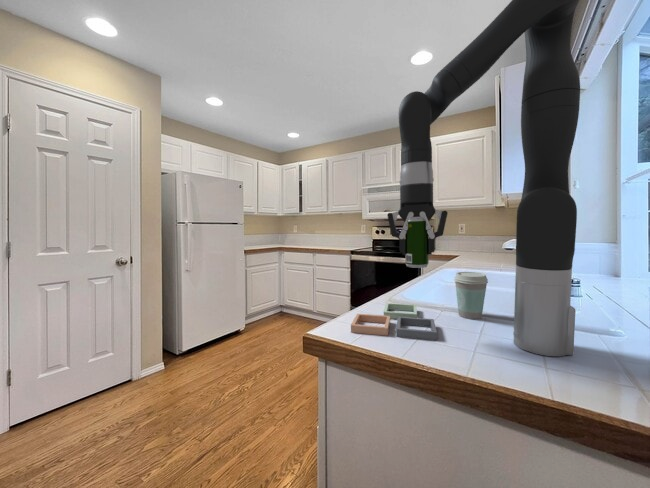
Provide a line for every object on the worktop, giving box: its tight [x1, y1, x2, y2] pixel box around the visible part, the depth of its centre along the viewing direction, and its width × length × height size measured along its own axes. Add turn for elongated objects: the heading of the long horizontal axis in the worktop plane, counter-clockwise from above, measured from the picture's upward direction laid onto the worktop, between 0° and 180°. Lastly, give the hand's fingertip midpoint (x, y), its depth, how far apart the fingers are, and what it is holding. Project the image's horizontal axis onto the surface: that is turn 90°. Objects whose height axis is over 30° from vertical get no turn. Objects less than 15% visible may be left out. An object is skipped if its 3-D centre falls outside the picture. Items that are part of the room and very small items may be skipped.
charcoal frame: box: [395, 317, 438, 341], centre depth 70 cm, size 9×9×2 cm
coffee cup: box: [453, 271, 489, 320], centre depth 79 cm, size 9×9×12 cm
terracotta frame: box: [350, 313, 391, 336], centre depth 73 cm, size 9×9×2 cm
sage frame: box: [383, 302, 418, 320], centre depth 82 cm, size 9×9×2 cm
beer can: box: [404, 217, 430, 269], centre depth 68 cm, size 5×5×12 cm
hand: (416, 254), depth 68 cm, fingers closed on beer can, 5 cm apart
